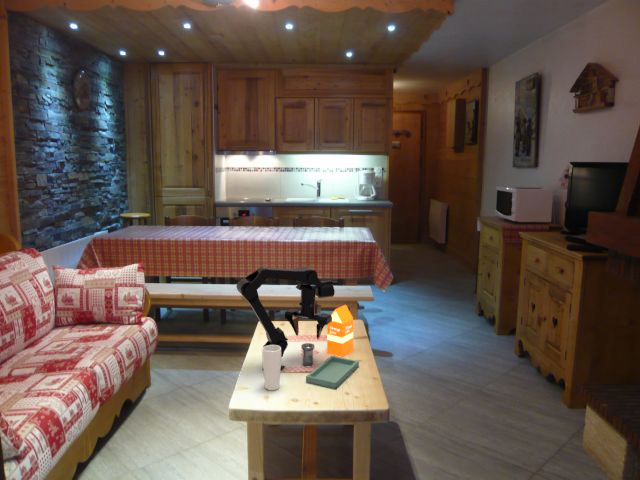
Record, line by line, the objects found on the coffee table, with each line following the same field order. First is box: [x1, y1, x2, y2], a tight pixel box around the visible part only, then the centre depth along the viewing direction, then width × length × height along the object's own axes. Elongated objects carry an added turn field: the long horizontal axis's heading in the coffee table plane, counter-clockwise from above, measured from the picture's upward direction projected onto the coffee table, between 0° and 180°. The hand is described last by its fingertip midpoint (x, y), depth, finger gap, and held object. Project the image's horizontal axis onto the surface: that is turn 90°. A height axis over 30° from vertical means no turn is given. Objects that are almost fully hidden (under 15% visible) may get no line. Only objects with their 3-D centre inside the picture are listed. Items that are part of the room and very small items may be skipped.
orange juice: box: [326, 304, 354, 358], centre depth 217 cm, size 8×9×20 cm
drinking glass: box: [261, 345, 282, 391], centre depth 184 cm, size 7×7×15 cm
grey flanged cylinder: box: [300, 342, 315, 367], centre depth 204 cm, size 5×5×8 cm
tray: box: [305, 355, 360, 390], centre depth 196 cm, size 22×12×2 cm, turn 154°
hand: (307, 337), depth 205 cm, fingers open, 9 cm apart
